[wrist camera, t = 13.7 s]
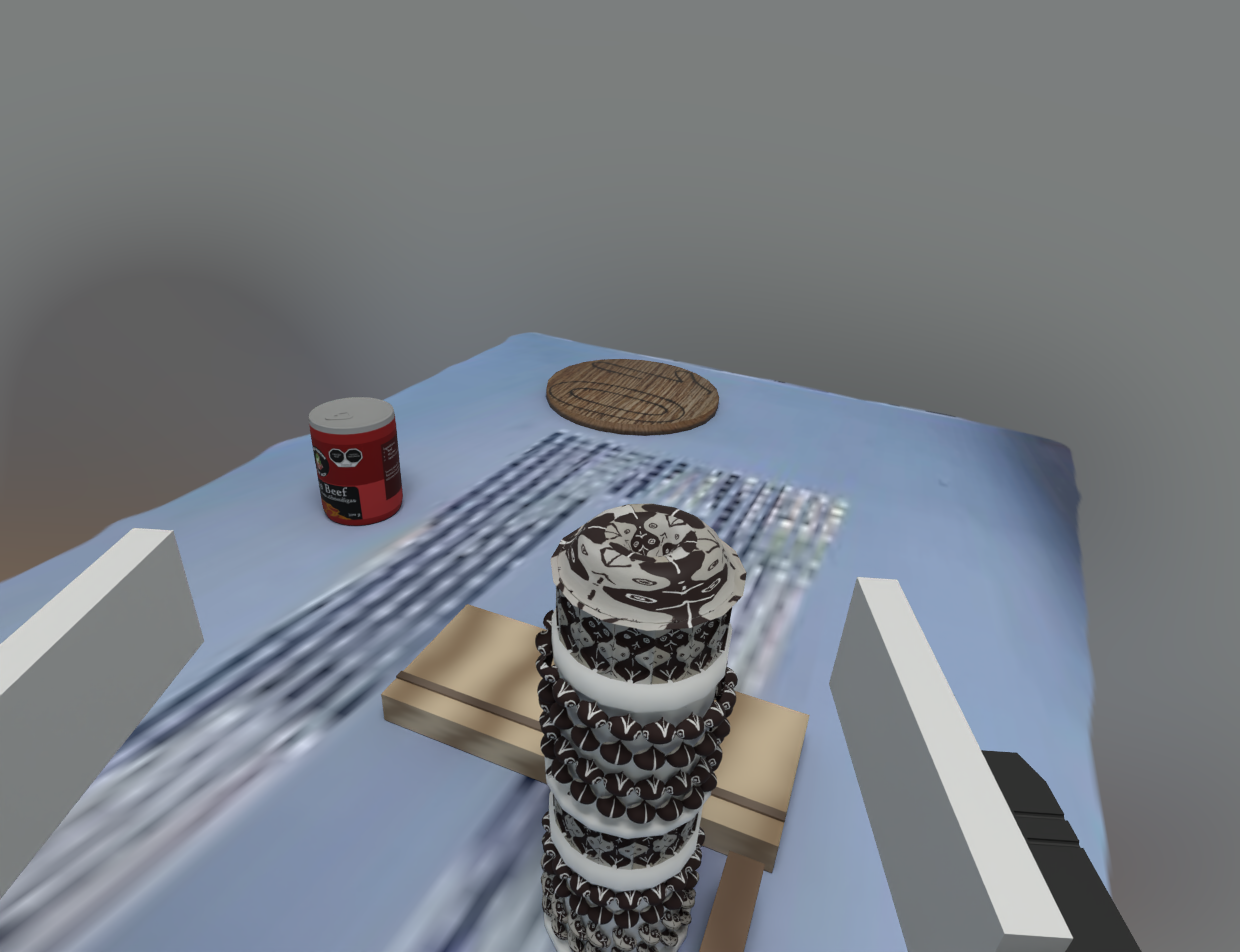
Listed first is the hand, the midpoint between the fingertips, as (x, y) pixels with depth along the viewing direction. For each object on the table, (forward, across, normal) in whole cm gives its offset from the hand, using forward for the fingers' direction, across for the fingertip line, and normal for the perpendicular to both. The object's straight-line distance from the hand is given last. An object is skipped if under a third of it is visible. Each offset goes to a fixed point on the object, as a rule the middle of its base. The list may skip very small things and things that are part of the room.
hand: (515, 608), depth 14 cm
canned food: (+54, -25, -32) cm, 67 cm away
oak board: (+26, +1, -32) cm, 41 cm away
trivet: (+88, +2, -33) cm, 94 cm away
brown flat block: (+11, +9, -32) cm, 35 cm away
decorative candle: (+14, +3, -32) cm, 35 cm away
